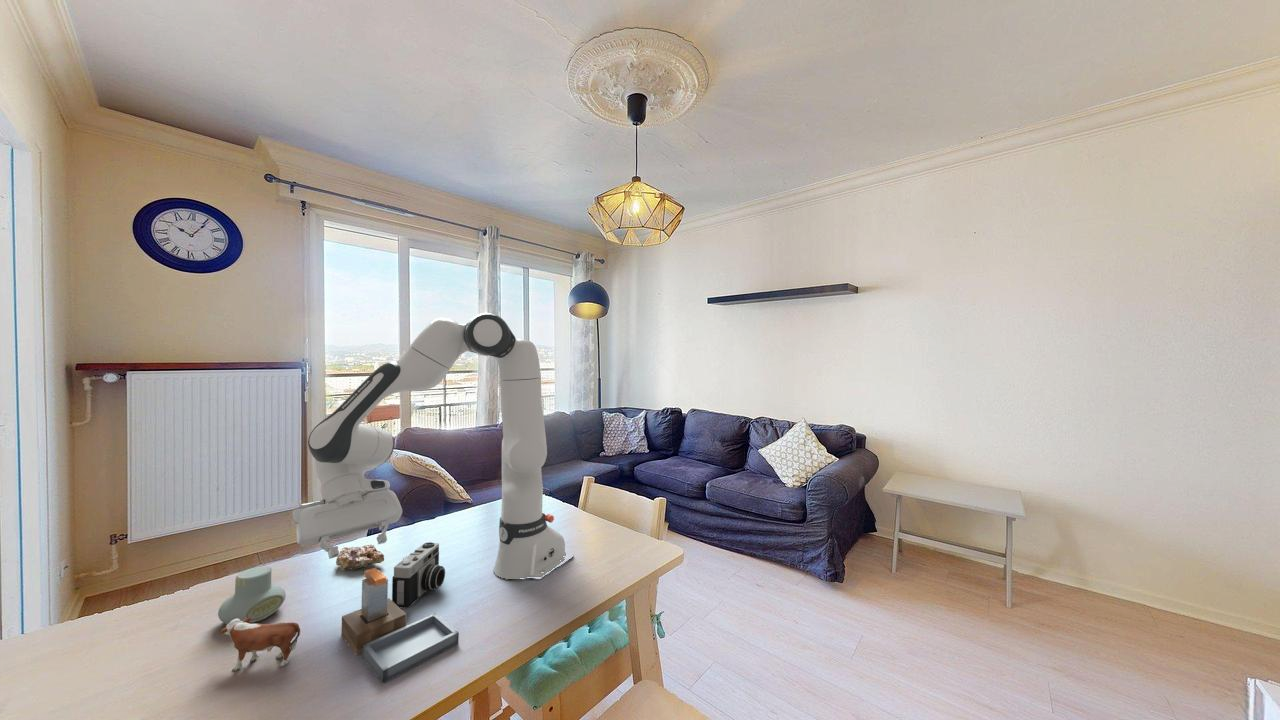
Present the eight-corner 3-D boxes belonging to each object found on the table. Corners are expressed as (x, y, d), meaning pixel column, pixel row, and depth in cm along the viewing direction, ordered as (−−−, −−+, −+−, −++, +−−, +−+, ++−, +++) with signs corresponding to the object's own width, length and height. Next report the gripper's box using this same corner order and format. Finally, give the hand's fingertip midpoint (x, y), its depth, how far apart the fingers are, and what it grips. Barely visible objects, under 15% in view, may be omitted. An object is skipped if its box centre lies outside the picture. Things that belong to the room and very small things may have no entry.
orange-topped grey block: (377, 624, 92) (379, 566, 92) (388, 636, 88) (390, 575, 88) (358, 632, 89) (360, 572, 89) (369, 645, 85) (370, 582, 85)
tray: (435, 623, 92) (435, 612, 92) (458, 643, 86) (458, 632, 86) (362, 657, 81) (362, 645, 81) (382, 683, 75) (383, 670, 75)
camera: (420, 611, 97) (419, 567, 97) (385, 607, 98) (384, 564, 98) (456, 580, 110) (456, 541, 110) (425, 577, 112) (425, 539, 112)
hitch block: (388, 615, 95) (389, 597, 95) (405, 632, 89) (406, 614, 89) (341, 635, 88) (341, 616, 88) (356, 655, 82) (357, 635, 82)
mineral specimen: (389, 548, 123) (387, 533, 120) (384, 573, 117) (382, 558, 114) (340, 554, 119) (337, 539, 116) (333, 580, 113) (329, 564, 110)
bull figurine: (230, 655, 81) (231, 613, 81) (304, 653, 82) (305, 611, 82) (209, 672, 77) (210, 628, 77) (288, 670, 78) (289, 626, 78)
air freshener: (233, 637, 86) (234, 588, 86) (209, 627, 89) (210, 580, 89) (292, 608, 97) (293, 564, 97) (269, 600, 99) (271, 557, 99)
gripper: (293, 498, 91) (304, 558, 85) (395, 479, 107) (411, 528, 101) (287, 514, 94) (298, 573, 87) (388, 493, 109) (403, 541, 103)
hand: (359, 549), depth 94 cm, fingers open, 8 cm apart
